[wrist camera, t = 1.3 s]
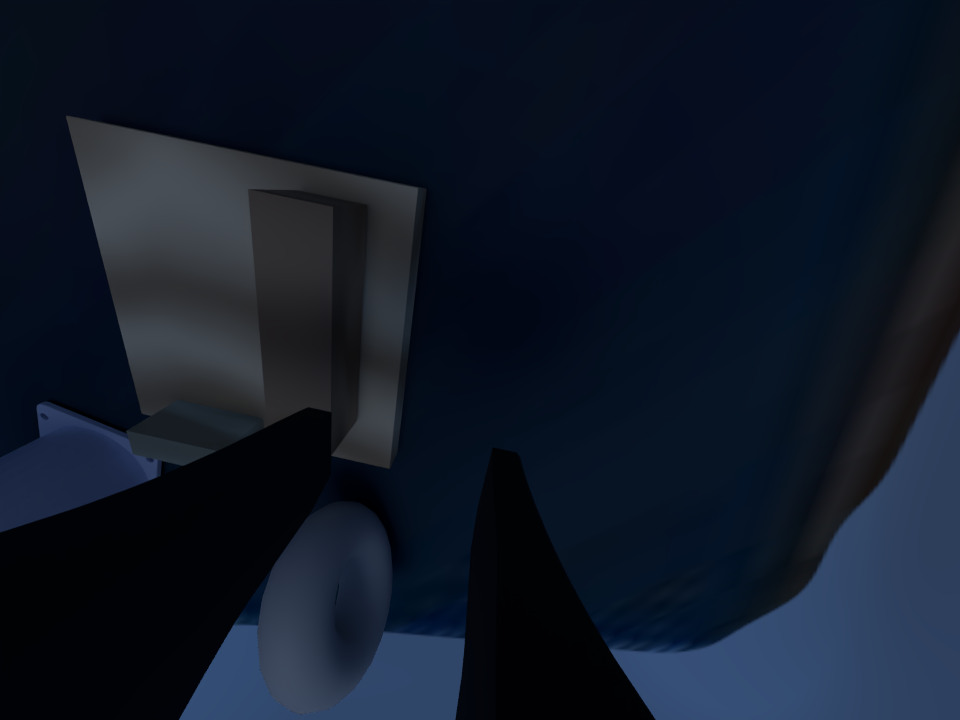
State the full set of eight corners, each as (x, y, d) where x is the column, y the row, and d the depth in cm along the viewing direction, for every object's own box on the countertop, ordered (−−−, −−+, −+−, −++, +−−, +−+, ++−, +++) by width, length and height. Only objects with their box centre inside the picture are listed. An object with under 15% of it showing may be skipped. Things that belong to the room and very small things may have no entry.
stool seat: (397, 452, 23) (369, 508, 18) (164, 400, 23) (86, 445, 19) (426, 188, 16) (394, 186, 12) (103, 122, 17) (-35, 98, 12)
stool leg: (356, 431, 20) (321, 480, 17) (303, 419, 20) (258, 466, 17) (367, 204, 15) (321, 207, 12) (297, 190, 15) (231, 188, 12)
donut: (322, 468, 24) (199, 635, 15) (371, 463, 23) (275, 635, 14) (369, 571, 28) (294, 755, 19) (412, 570, 27) (356, 759, 18)
